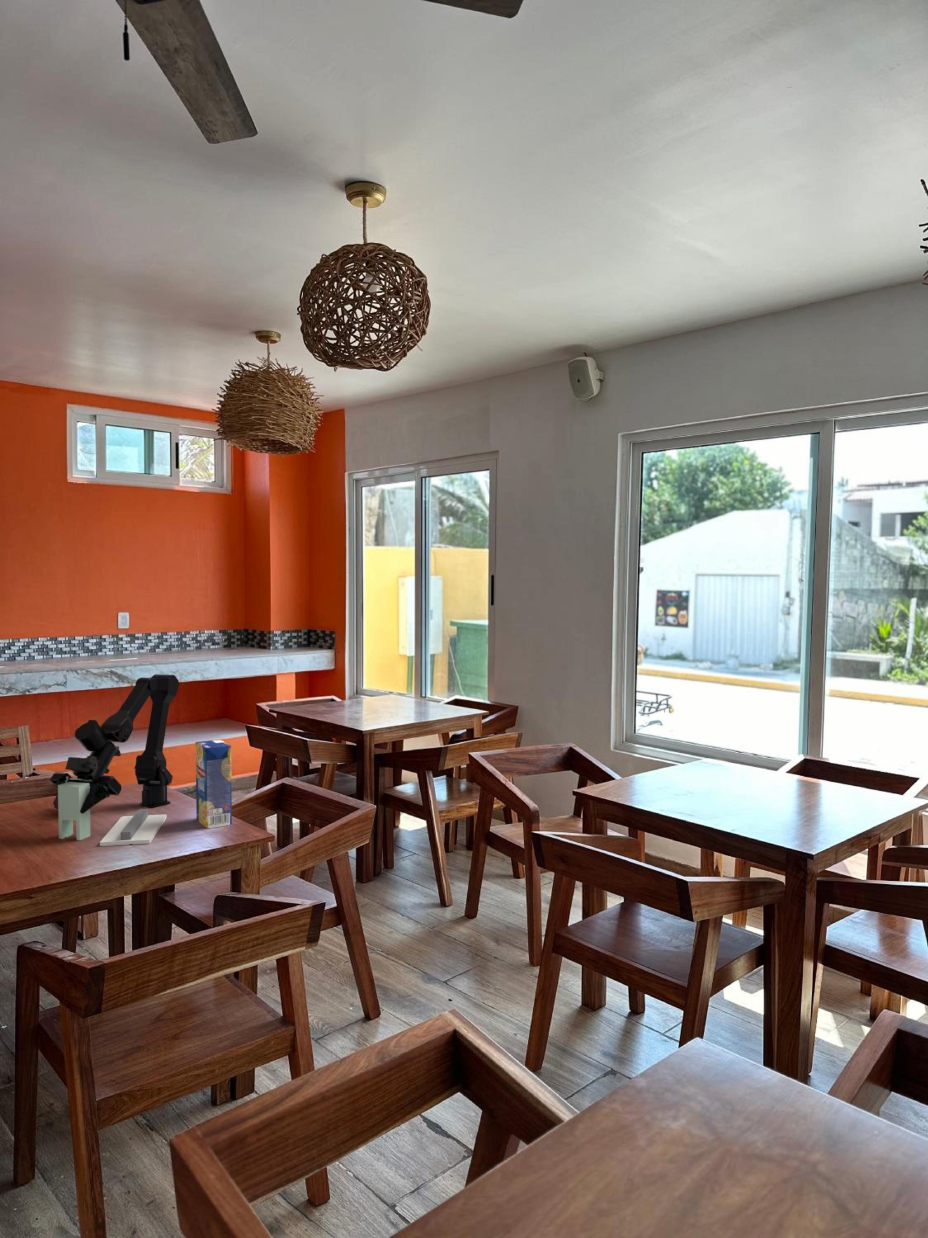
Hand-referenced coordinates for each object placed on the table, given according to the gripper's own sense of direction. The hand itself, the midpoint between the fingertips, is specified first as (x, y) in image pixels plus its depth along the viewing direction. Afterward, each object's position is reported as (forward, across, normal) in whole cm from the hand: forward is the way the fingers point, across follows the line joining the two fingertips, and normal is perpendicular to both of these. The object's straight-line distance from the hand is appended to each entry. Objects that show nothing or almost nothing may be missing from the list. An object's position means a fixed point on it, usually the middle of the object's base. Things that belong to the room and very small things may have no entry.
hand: (70, 811), depth 214 cm
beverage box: (-11, +28, +22) cm, 37 cm away
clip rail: (-2, +12, +12) cm, 17 cm away
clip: (+4, 0, +6) cm, 7 cm away
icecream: (-10, -19, +20) cm, 30 cm away
